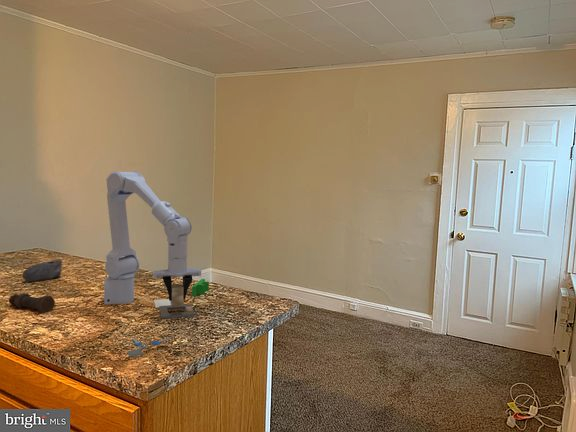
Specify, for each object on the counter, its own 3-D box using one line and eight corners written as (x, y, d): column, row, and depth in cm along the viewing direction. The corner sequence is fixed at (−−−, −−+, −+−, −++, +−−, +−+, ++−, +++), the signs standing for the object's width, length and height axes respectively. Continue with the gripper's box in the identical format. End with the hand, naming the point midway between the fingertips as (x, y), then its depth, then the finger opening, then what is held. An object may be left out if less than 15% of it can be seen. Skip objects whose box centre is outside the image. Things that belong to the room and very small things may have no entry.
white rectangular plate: (155, 309, 136) (155, 307, 136) (153, 302, 144) (153, 300, 144) (174, 308, 138) (174, 306, 138) (172, 301, 146) (172, 298, 146)
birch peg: (171, 306, 130) (172, 287, 130) (170, 303, 134) (170, 284, 133) (183, 305, 132) (183, 287, 131) (181, 302, 135) (182, 284, 134)
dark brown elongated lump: (15, 310, 136) (50, 315, 131) (1, 306, 132) (37, 312, 126) (23, 292, 138) (57, 297, 133) (10, 288, 134) (45, 293, 129)
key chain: (136, 359, 101) (136, 356, 101) (109, 353, 104) (109, 349, 104) (172, 339, 114) (172, 336, 114) (147, 334, 117) (147, 331, 117)
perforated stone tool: (25, 284, 158) (24, 266, 157) (19, 281, 161) (19, 264, 161) (66, 277, 170) (66, 260, 169) (60, 275, 173) (60, 258, 172)
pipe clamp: (201, 299, 150) (202, 287, 149) (191, 299, 150) (191, 286, 150) (211, 290, 161) (211, 279, 160) (201, 290, 161) (201, 278, 161)
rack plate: (161, 321, 126) (161, 316, 126) (158, 310, 136) (159, 305, 135) (195, 318, 130) (195, 313, 130) (190, 308, 139) (190, 303, 139)
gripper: (154, 260, 125) (153, 304, 126) (203, 258, 130) (202, 301, 131) (152, 255, 131) (152, 298, 133) (199, 254, 136) (198, 295, 138)
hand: (177, 299), depth 132 cm, fingers closed on birch peg, 3 cm apart
